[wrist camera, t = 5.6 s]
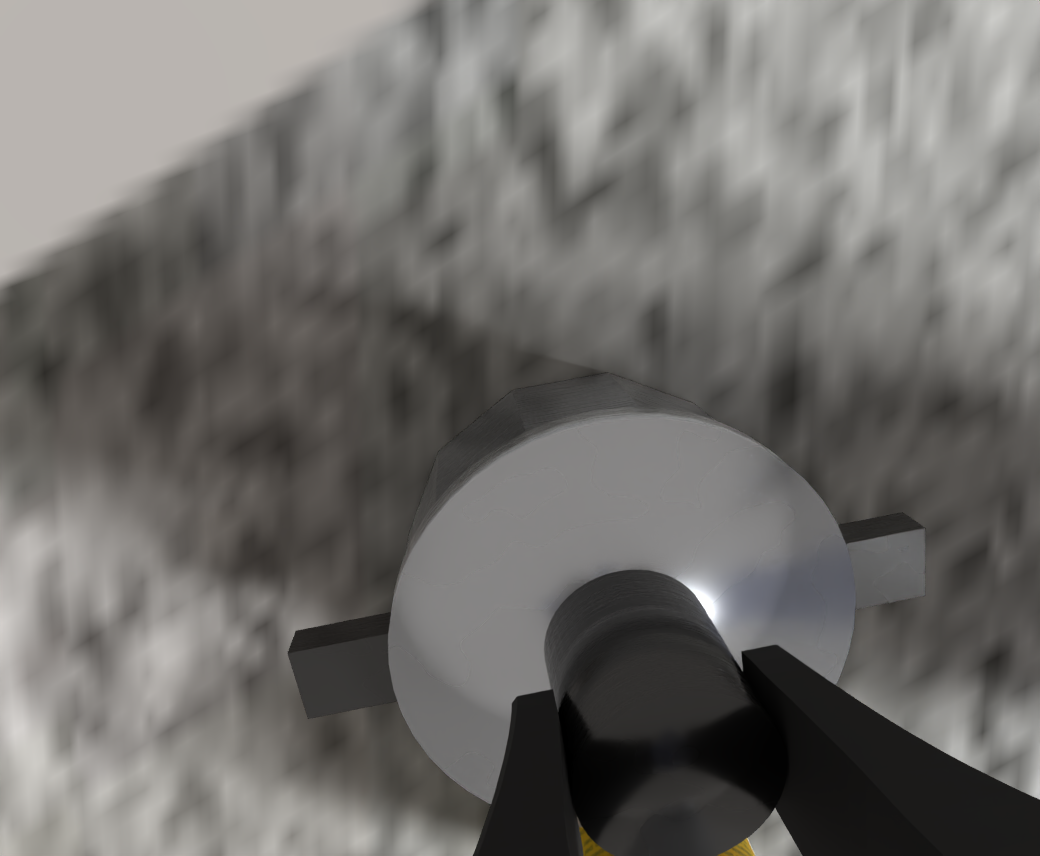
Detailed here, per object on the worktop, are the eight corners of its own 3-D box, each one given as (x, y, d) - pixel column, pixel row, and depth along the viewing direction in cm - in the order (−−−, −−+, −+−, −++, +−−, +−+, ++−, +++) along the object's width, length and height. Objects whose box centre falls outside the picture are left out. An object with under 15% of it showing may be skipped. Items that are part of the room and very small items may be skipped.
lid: (834, 366, 13) (995, 442, 9) (840, 756, 16) (964, 937, 12) (341, 456, 13) (295, 573, 9) (439, 836, 16) (436, 1049, 12)
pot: (830, 331, 17) (936, 367, 14) (840, 636, 20) (932, 738, 16) (282, 433, 17) (232, 500, 13) (367, 731, 20) (346, 859, 16)
